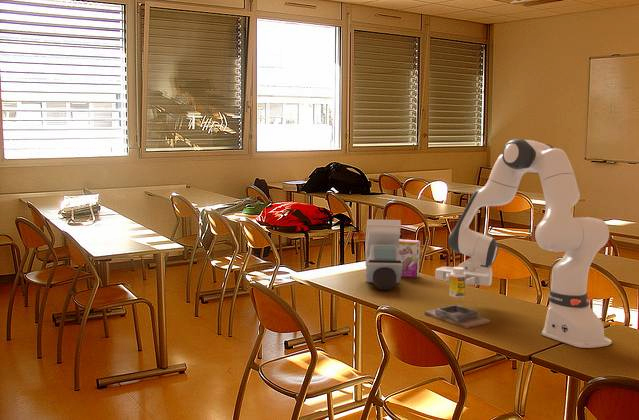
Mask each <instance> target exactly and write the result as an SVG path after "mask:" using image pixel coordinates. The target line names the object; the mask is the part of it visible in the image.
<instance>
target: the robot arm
mask: <svg viewBox="0 0 639 420" xmlns="http://www.w3.org/2000/svg"><path fill="white" fill-rule="evenodd" d="M526 173H530V174H538V176H539V179H540V183H541V187H542V193H543V197H544V202H545V210H544V211H545V212H544V214H543V218H542V220H541V221H540V222H539V223H538V224H537V226H536V228H535V232H534V234H535V235H534V236H535V242H536V243H537V245H538V247H540V249H542V250H544V251H545V250H546V251H550V252H557V253H558V252H565V253H564V255H563V257H562V258H561V259H560V260H559V261H558V262H556V263H555V264H554V265H553V267H552V269H551V283H550V284H551V285H550V289H549V290H548V291H549V293H548V301H549V305H548V308H547V310H546V315H545V316H546V317H545V321H544V326H543V329H542V331H541V335H542V336H544V337H547V338H549V339H552V340H555V341H558V342H561V343H563V344H568V345H570V346H574V347H576V348H584V349H585V348H587V349H588V348H589V349H591V348H592V349H593V348H594V349H595V348H602V347H607V346H610V345H612V343H613V342H612V340H611V339H610V338H608V337H606V336H605V327H604V323H603V321H601V319H600V318H599V317H598V316H597V314H596V313H595V312H594V310H593V309H592V308H591V306H590V305H591V304H590V303H592V302H593V298H589V296H588V293H587V286H588V285H587V284H588V276H589V271H590V267H591V265H592V262H593V260H594V259H595V257H596V256H597V254H598V252H599V251H601V249H602V248H603V247H604V246H605V245H606V244H607V243H608V242H609V239H610V229H609V226H608V225H607V223H606V222H605V221H604V220H602V219H601V218H596V217H590V216H582V217H581V216H579V217H578V216H577V217H575V216H573V212H572V210H573V207H574V206H576V204H578V202H579V200H580V197H581V193H580V190H579V187H578V183H577V178H576V176H575V175H576V174H575V172H574V169H573V166H572V164H571V162H570V160H569V157H568V155H567V153H566V152H565V151H564V149H562V148H558V147H557V148H556V147H553V146H552V145H550V144H548V143H542V142H540V141H536V140H532V139H524V138H523V139H522V138H516V139H515V138H514V139H511V140H508V142H507V143H506V144H504V147H503V148H502V153H501V154H500V155H499V156H498V157H497V158H496V161H495V163H494V164H493V166H492V169H491V171H490V174H489V177H488V179H487V182H486V183H485V185H484V186H483V187H481V188H477V189H475V191H474V193H473V194H471V196H470V198H469V200H468V203H467V204H466V206H465V207H464V210H463V211H462V214H461V215H460V217H459V218H458V221H457V222H456V224H455V226H454V228H453V229H452V231H451V232H450V234H449V236H448V240H447V242H448V245H449V247H450V249H451V251H452V252H455V253H459V254H463V255H466V256H468V257H469V258H467V259H466V260H464V261H463V262H461V263H459V264H458V266H457V267H463V268H464V273H465V274H466V279H465V284H466V286H472V285H474V286H476V285H478V286H485V287H490V286H491V285H492V280H493V267H491V266H492V265H493V264H494V263H495V261H496V258H497V256H498V253H499V246H498V245H499V244H498V242H497V240H496V239H495V238H494V237H491V236H489V235H486V234H484V233H481V232H477V231H475V230H472V229H470V224H471V223H472V221H473V219H474V217H475V215H476V213H477V212H478V210H479V209H480V208H483V207H499V206H504V205H507V204H509V203H511V202H512V201H513V200H514V198H515V196H516V194H517V192H518V190H519V189H518V188H519V187H520V183H521V181H522V177H523V175H525V174H526ZM453 267H454V266H453ZM453 267H452V266H440V267H437V268H435V273H434V277H435V279H437V280H442V281H445V282H449V283H450V274H451V273H452V272H453Z"/></svg>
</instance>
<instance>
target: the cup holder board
mask: <svg viewBox="0 0 639 420" xmlns="http://www.w3.org/2000/svg"><path fill="white" fill-rule="evenodd" d="M423 314H424V315H426V316H429V317H431V318H435V319H438V320H441V321H444V322H446V323H450V324H453V325H455V326H459V327H462V328H464V329H469V328H472V327H477V326H482V325H485V324H489V323H490V322H491V319H488V318H485V317H482V316H480V315H479V311H478V310H475V309H471V308H469V307H465V306H462V305H459V304H452V305H448V306H442V307H438V308H435V309H430V310H426V311H424V312H423Z"/></svg>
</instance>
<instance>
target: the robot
mask: <svg viewBox="0 0 639 420" xmlns="http://www.w3.org/2000/svg"><path fill="white" fill-rule="evenodd" d="M401 227H402V223H401V219H369V218H368V219H366V231H365V233H366V234H365V245H364V246H365V253H364V254H365V266H366V267H365V281H366V282H367V283H373V284H374V286H375V288H377V289H378V290H380V291H389V290H391V289H393V288H394V287H395V285H396V284H400V283H401V279H402V277H401V273H402V263H401V262H402V261H401V258H400V254H399V239H400V237H401Z"/></svg>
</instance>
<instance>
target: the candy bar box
mask: <svg viewBox="0 0 639 420" xmlns="http://www.w3.org/2000/svg"><path fill="white" fill-rule="evenodd" d="M420 250H421V241H420V240H416V239H415V240H412V239H402V238H401V239H400V238H399V254H400V258H401V261H402V262H401V263H402V273H401V278H403V277H404V278H412V279H414V278H415V279H416V278H417V279H418V277H419V272H420V271H419V268H420Z"/></svg>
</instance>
